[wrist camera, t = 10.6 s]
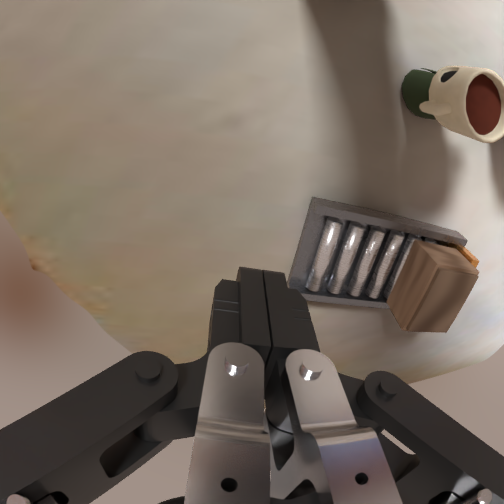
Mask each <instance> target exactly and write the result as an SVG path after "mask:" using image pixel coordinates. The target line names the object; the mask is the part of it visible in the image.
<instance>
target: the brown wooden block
mask: <svg viewBox="0 0 504 504" xmlns="http://www.w3.org/2000/svg"><path fill="white" fill-rule="evenodd" d="M478 273H479V271H478V270H477V269H476V268H475V267H474V266H473V265H472V264H471V263H470V262H469V261H468V260H467V259H466V258H465V257H464V256H463V255H462V254H461V253H460V252H459V251H458V250H457V249H454V248H450V247H446V246H441V245H437V244H433V243H428V242H424V241H419V240H414V242H413V245H412V247H411V249H410V252H409V254H408V256H407V259H406V261H405V263H404V265H403V268H402V270H401V272H400V274H399V276H398V279H397V281H396V283H395V285H394V287H393V289H392V291H391V293H390V295H389V298H388V300H387V304H388V306H389V308H390V309H391V311H392V313H393V315H394V316H395V318H396V320H397V322H398V324H399V325H400V327H401V329H402V330H405V331H414V332H447V331H448V329H449V328H450V326H451V324H452V323H453V321H454V320H455V318H456V316H457V315H458V313H459V311H460V310H461V308H462V306H463V304H464V303H465V301H466V299H467V297H468V295H469V294H470V292H471V290H472V288H473V286H474V284H475V283H476V281H477V279H478V276H477V275H478Z"/></svg>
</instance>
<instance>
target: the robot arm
mask: <svg viewBox="0 0 504 504" xmlns="http://www.w3.org/2000/svg"><path fill="white" fill-rule="evenodd" d="M308 311H309V309H308V306H307V302H306V299H305V298H304V297H303V296H302V294H301V293H300V292H299V291H298V290H297V289H291V288H288V287H287V282H286V278H285V274H284V273H282V272H275V271H267V270H260V269H253V268H246V267H239V270H238V274H237V279H236V281H231V280H224V279H222V280H221V281H220V283H219V284H218V285H217V286H216V287H215V292H214V298H213V304H212V311H211V317H210V324H209V336H208V348H207V353H206V354H205V355H204V356H203V357H202V358H200V359H198V360H196V361H193V362H190V363H183V364H174V363H173V362H172V361H171V360H170V359H169V358H168V357H166V356H164V355H162V354H160V353H157V352H152V351H142V352H137V353H134V354H132V355H130V356H128V357H126V358H124V359H123V360H121V361H119V362H118V363H116V364H114V365H113V366H111V367H109V368H108V369H106V370H104V371H102V372H101V373H99V374H97V375H96V376H94V377H92V378H91V379H89V380H87V381H86V382H84V383H82V384H80V385H79V386H77V387H75V388H73V389H72V390H70V391H68V392H66V393H65V394H63V395H61V396H60V397H58V398H56V399H54V400H52V401H51V402H49V403H47V404H45V405H44V406H42V407H40V408H38V409H37V410H35V411H33V412H31V413H30V414H28V415H26V416H24V417H22V418H21V419H19V420H17V421H15V422H13V423H12V424H10V425H8V426H6V427H4V428H2V429H1V430H0V504H89V503H91V502H92V501H93V500H95V499H96V498H98V497H99V496H101V495H102V494H104V493H105V492H107V491H108V490H109V489H111V488H112V487H114V486H115V485H116V484H118V483H119V482H120V481H122V480H123V479H125V478H126V477H127V476H129V475H130V474H131V473H133V472H134V471H135V470H137V469H138V468H139V467H141V466H142V465H143V464H145V463H146V462H147V461H148V460H150V459H151V458H152V457H154V456H155V455H156V454H157V453H158V452H160V451H161V450H162V449H164V448H165V447H166V446H167V445H169V444H170V443H171V442H172V440H174V439H181V438H187V437H193V436H195V437H194V443H193V449H192V455H191V462H190V468H189V474H188V481H187V487H186V494H185V496H182V497H177V498H173V499H170V500H166V501H163V502H161V503H159V504H504V457H503V456H502V455H501V454H499V453H498V452H497V451H495V450H494V449H493V448H491V447H490V446H489V445H487V444H486V443H485V442H483V441H482V440H480V439H479V438H478V437H476V436H475V435H474V434H472V433H471V432H470V431H468V430H467V429H466V428H464V427H463V426H462V425H460V424H459V423H458V422H456V421H455V420H453V419H452V418H451V417H450V416H448V415H447V414H446V413H444V412H443V411H442V410H440V409H439V408H438V407H436V406H435V405H434V404H432V403H431V402H430V401H429V400H427V399H426V398H424V397H423V396H422V395H421V394H419V393H418V392H416V391H415V390H414V389H413V388H411V387H410V386H409V385H407V384H406V383H405V382H403V381H402V380H401V379H400V378H398V377H397V376H395V375H393V374H391V373H389V372H385V371H375V372H372V373H370V374H369V375H368V376H367V377H366V379H365V380H364V381H363V380H360V379H356V378H353V377H349V376H346V375H343V374H340V373H338V372H337V371H336V368H335V366H334V364H333V363H332V361H331V360H330V359H329V358H328V357H327V356H325V355H324V354H322V353H320V349H319V345H318V342H317V338H316V334H315V331H314V327H313V324H312V321H311V316H310V313H309V312H308ZM264 399H265V403H266V409H265V412H264ZM384 429H385V430H386V431H388V432H389V433H390V434H391V435H393V436H394V437H395V438H396V439H398V440H399V441H400V442H401V443H403V444H404V445H405V446H407V447H408V448H409V449H410V450H412V451H413V452H414V453H416V454H414V455H412V454H407V453H406V452H404V451H403V450H402V449H400V448H399V447H398V446H397V445H395V444H394V443H393V442H392V441H390V440H389V439H388V438H387V437H385V436H384V435H383V434H381V432H382V431H383V430H384ZM270 471H271V481H270Z"/></svg>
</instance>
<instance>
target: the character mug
mask: <svg viewBox="0 0 504 504" xmlns="http://www.w3.org/2000/svg"><path fill="white" fill-rule="evenodd" d="M421 69H424V68H421ZM425 70H428V71H430V72H432V73H430V72H426V71H421V70H411V71H410V72H409V73H408V74H407V75H406V76H405V78H404V81H403V84H402V92H403V98H404V100H405V103H406V105H407V107H408V109H409V110H410V111H411V112H412V113H413V114H414V115H416V116H419V117H422V118H427V119H437V121H438V122H439V123H440V124H441V125H442V126H444V127H445V128H447V129H449V130H451V131H453V132H456V133H459V134H462V135H464V136H467V137H470V138H472V139H475V140H477V141H480V142H483V143H494V142H496V141H498V140H500V139H501V138H502V137H503V136H504V81H503V79H502V78H501V77H500V76H499V75H498V74H497V73H495V72H494V71H492V70H490V69H486V68H477V67H466V66H446V67H443V68H441V69H440V70H438V71H437V72H436V71H433V70H429V69H425Z"/></svg>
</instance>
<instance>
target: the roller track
mask: <svg viewBox="0 0 504 504" xmlns="http://www.w3.org/2000/svg"><path fill="white" fill-rule="evenodd" d="M414 240H419V241H424V242H428V243H433V244H437V245H441V246H446V247H450V248H454V249H457V250H458V251H459V252H460V253H461V254H462V255H463V256H464V257H465V258H466V259H467V260H468V261H469V262H470V263H471V264H472V265H473V266H474V267H475V268H476V267H477V265H478V263H479V260H478V259H477V258H476V257H475V256H473V255H472V254H471V253H470V252H469V251H468V250H467V249H466V248H465V247H464V246H465V245H466V243H467V241H468V240H467V239H465V238H464V237H463V236H462V235H461V234H460V233H459V232H457V231H453V230H450V229H446V228H443V227H439V226H435V225H431V224H428V223H424V222H420V221H416V220H412V219H408V218H404V217H400V216H396V215H392V214H388V213H384V212H379V211H375V210H371V209H366V208H362V207H358V206H353V205H348V204H344V203H339V202H335V201H330V200H325V199H320V198H315V197H312V199H311V202H310V206H309V209H308V213H307V216H306V220H305V223H304V227H303V230H302V234H301V237H300V241H299V244H298V248H297V251H296V254H295V258H294V261H293V264H292V268H291V271H290V274H289V278H288V281H287V287H288V288H291V289H297V290H298V291H299V292H300V293H301V294H302V296H303V297H304V298H305V299H306V300H308V301H316V302H325V303H335V304H344V305H354V306H364V307H375V308H385V309H390V308H389V306H388V304H387V300H388V298H389V295H390V293H391V291H392V289H393V287H394V285H395V283H396V281H397V279H398V276H399V274H400V272H401V270H402V268H403V265H404V263H405V261H406V259H407V256H408V254H409V252H410V249H411V247H412V245H413V242H414Z"/></svg>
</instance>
